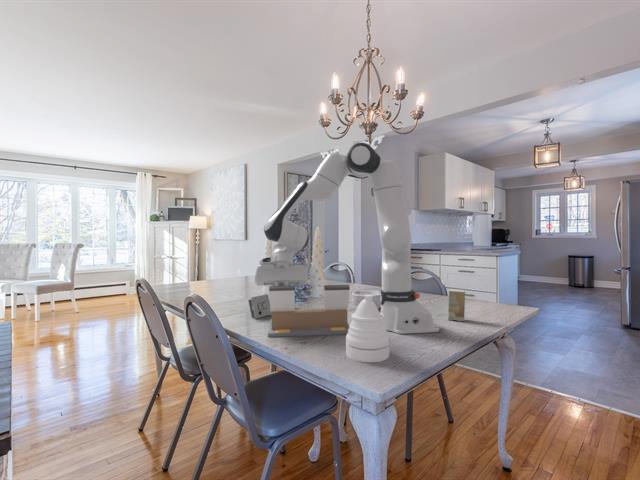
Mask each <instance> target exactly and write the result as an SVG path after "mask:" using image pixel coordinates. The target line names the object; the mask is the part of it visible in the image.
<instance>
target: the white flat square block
mask: <svg viewBox="0 0 640 480" xmlns="http://www.w3.org/2000/svg"><path fill="white" fill-rule="evenodd" d="M323 288H324V289H323V290H324V291H323V308H324V310H334V309H346V310H348V309H349V296H350V288H351V287H350V284H325V285H323Z"/></svg>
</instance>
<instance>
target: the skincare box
mask: <svg viewBox="0 0 640 480" xmlns="http://www.w3.org/2000/svg"><path fill="white" fill-rule="evenodd" d="M465 298H466V290H463V289H450V288H448V309H447V319H448V321H453V320H457V321H456V322H462V321H464V322H465V308H466V307H465V306H466V305H465V304H466V303H465V302H466V299H465Z"/></svg>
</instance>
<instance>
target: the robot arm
mask: <svg viewBox="0 0 640 480" xmlns="http://www.w3.org/2000/svg"><path fill="white" fill-rule="evenodd" d="M396 163H397V162H395V161H393V160H391V159H385V160H384V159H383V160H381V156H380V155H379V154H378V153H377V152H376V150H375V149H374V148H373V147H372V145H370V144H368V143H366V142H356V143H355V144H353V145H351V147H350V148H349V149H348V151H347V153H346V154H345V155H344V154H341V153H339V152H330V153H328V155H326V156H325V158H324V159H323V161H322V162H321V163H320V165H319V166H318V167H317V169H316V171H315V173H314V174H313V176H312V177H310V179H308V180H306V181H302V182H300V183H299V184H298V185H297V186H295V188H294V189H293V190H292V191H291V192H290V194H289V195H288V196H287V197H286V198H285V200H284V201H283V202H282V203H281V204H280V206H279V207H278V208H277V210H276V211H275V212H274V213H273V214H272V215H271V216H270V217H269V218H268V220H267V221H266V222H265V224H264V226H263V233H264V234H265V235H264V236H265V238H266V239H267V240H268V241H269V240H270V241H271V253H272V254H271V255H270V256H266V257H263V258H260V259H259V265H258V266H257V268H256V271H255V273H254V283H255V285H257V287H258V286H262V287H263V286H273V285H275V286H279V285H285V286H288V285H291V286H293V285H295V286H306V285H307V284H309V275H308V274H309V266H308V265H307V264H305V263H294V255H296V254H298V253H300V252H302V251H304V250H305V249H306V248H307V247H308V245H309V241H310V234H309V231H308V230H307V229H306V228H304V227H302V226H301V225H299V224H296V223H294V222H292V221H290V220H288V218H289V216H290V215H291V214H292V212H293V211H294V210H295V209H296V207H297V206H298V205H299V204H300V203H302V202H305V201H315V202H326V201H328V200H331V199H333V197H334V196H335V195H336V194H337V192H338V190H339V188H340V186H341V185H342V183H343V182H344V180H345V179H346V177H347V176H348V177H350V178H351V177H352V178H355V179H367V178H369V179H370V180H371V184H372V189H373V196H374V201H375V202H374V203H375V208H376V217H377V224H378V230H379V239H380V244H381V245H380V246H381V250H382V251H381V289H380V292H381V293H380V302H381V305H380V311H379V312H380V313H382V314H384V315H385V319H384V320H383V323H384V325H385V326H386V328H385V329H386V331H387V332H388V331H389V332H393V333H395V334H399V335H401V334H402V335H406V334H422V333H424V334H425V333H427V334H428V333H439V331H440V327H439V325H438V323H436V322H435V321H434V320H433V316H432V313H431V311H430V310H429V309H428V308H427V307H426V306H424V304H423V303H421V302H420V301H418V299H420V297H421V295H420V293H418V292H417V291H414V290H412V256H411V255H412V251H411V249H412V247H411V246H412V245H411V244H412V232H411V227H410V222H409V217H408V210H407V205H406V200H405V192H404V186H403V182H402V177H401V173H400V171H399V167H398V165H397V164H396Z"/></svg>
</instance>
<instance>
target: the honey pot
mask: <svg viewBox="0 0 640 480" xmlns="http://www.w3.org/2000/svg"><path fill="white" fill-rule="evenodd" d="M364 298H365V299H364V300H362V301H361V302H360V304H359V305H358V307H357V308H355V311H354V312H353V313H351V315H350V316H351V317H350V318H352V319H351V322H350V323H349V329H348V333H347V334H345V335H346V336H345V355H346V357H347V358H349V359H351V360H353V361H356V362H361V363H378V362H379V363H380V362H383V361H385V360H388V359H389V358H390V336H389V335H388V330H386V329H385V328H386V326H385V325H384V323H383V320H384V319H385V315H384V314H382V313H380V312H381V311H380V310H379V309H378V308H377V307H376V305H375V304H374V302H373V301H372V299H373V295H364Z"/></svg>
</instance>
